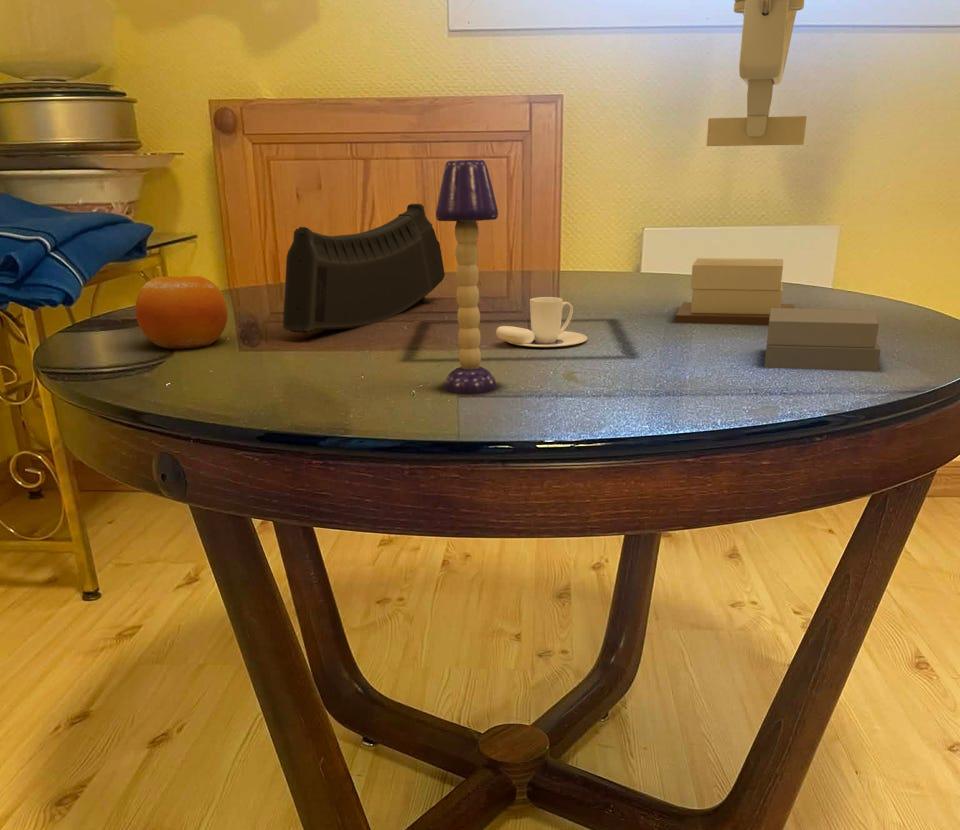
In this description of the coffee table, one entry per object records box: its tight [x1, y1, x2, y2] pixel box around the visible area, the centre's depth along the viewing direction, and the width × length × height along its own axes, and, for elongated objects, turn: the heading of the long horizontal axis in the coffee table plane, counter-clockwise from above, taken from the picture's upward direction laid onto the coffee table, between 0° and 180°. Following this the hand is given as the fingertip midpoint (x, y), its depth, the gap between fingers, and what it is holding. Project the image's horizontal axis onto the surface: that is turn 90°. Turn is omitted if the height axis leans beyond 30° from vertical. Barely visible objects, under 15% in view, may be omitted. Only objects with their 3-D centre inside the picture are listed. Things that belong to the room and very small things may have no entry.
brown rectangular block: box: [764, 307, 881, 372], centre depth 86 cm, size 9×7×4 cm
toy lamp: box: [435, 159, 499, 395], centre depth 77 cm, size 5×5×17 cm
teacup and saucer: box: [495, 296, 588, 348], centre depth 97 cm, size 9×8×4 cm
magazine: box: [282, 203, 446, 334], centre depth 109 cm, size 17×3×30 cm
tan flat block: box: [706, 115, 808, 147], centre depth 98 cm, size 9×6×2 cm, turn 75°
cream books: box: [674, 257, 795, 326], centre depth 107 cm, size 12×9×6 cm
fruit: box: [134, 275, 228, 350], centre depth 99 cm, size 8×8×8 cm
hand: (756, 136), depth 99 cm, fingers closed on tan flat block, 6 cm apart
